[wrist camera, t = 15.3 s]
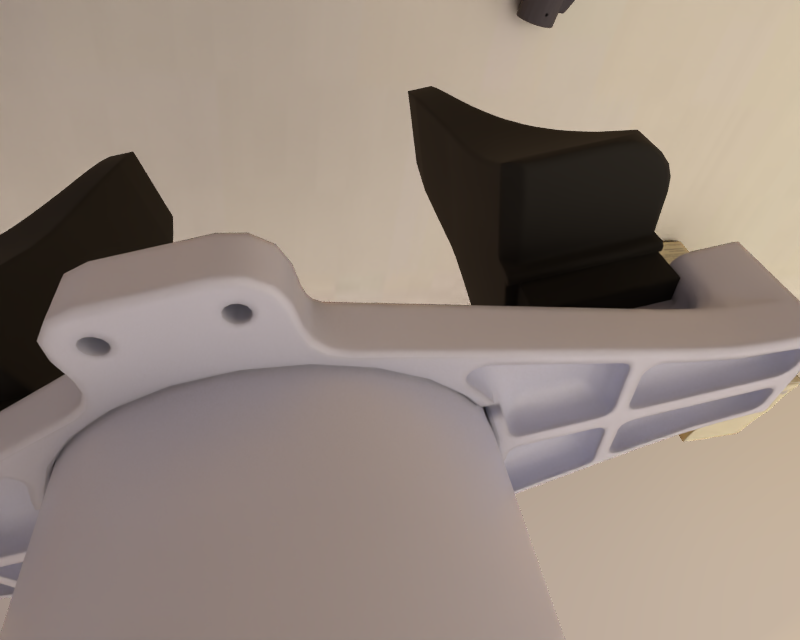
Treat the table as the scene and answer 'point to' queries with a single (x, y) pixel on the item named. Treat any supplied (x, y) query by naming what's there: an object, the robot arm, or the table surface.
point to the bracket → (542, 11)
